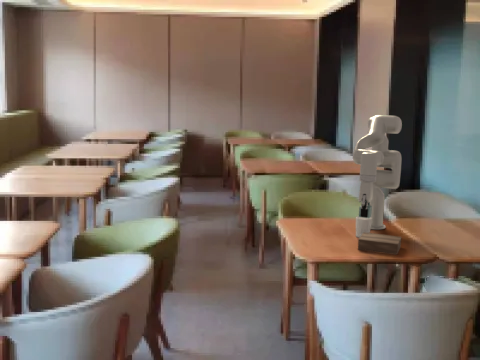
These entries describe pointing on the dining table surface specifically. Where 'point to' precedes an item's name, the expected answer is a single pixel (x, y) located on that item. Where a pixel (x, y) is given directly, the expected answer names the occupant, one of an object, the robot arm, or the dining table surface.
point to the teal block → (368, 211)
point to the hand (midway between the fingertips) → (365, 215)
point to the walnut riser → (379, 243)
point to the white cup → (362, 225)
